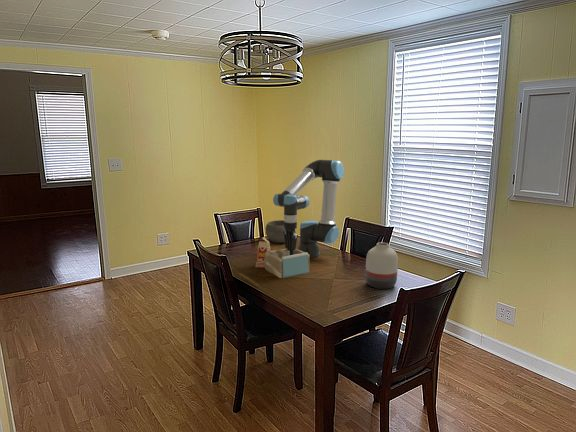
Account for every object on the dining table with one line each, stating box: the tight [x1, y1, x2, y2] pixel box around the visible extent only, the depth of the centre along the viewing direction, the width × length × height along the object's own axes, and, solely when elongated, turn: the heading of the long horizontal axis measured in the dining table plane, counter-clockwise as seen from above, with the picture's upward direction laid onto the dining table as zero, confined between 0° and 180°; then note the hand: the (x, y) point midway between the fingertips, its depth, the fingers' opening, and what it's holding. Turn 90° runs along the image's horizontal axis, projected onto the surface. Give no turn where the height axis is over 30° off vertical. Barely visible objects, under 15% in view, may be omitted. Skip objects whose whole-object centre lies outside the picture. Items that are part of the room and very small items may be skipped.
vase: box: [365, 241, 399, 290], centre depth 233 cm, size 17×17×24 cm
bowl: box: [265, 219, 285, 244], centre depth 323 cm, size 21×21×15 cm
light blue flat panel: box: [281, 252, 310, 279], centre depth 247 cm, size 18×1×13 cm, turn 122°
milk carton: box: [255, 236, 272, 269], centre depth 264 cm, size 9×9×20 cm
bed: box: [264, 248, 311, 279], centre depth 255 cm, size 20×18×12 cm
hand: (290, 260), depth 251 cm, fingers closed
